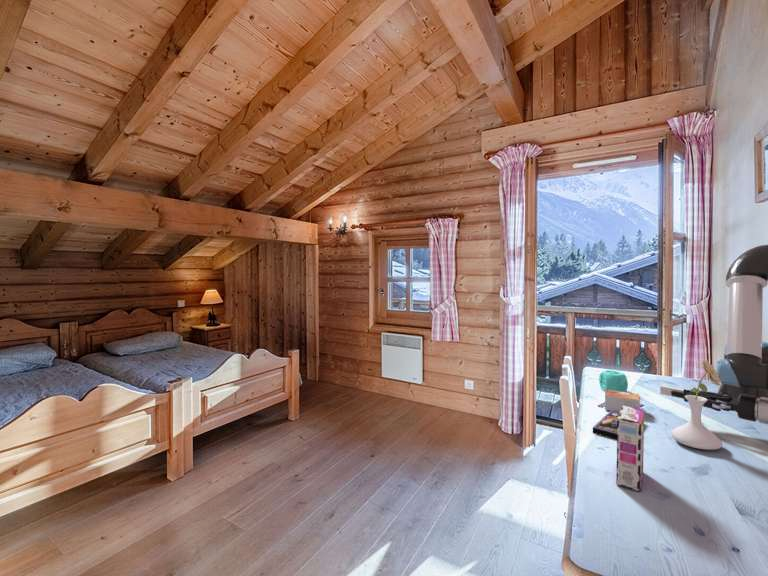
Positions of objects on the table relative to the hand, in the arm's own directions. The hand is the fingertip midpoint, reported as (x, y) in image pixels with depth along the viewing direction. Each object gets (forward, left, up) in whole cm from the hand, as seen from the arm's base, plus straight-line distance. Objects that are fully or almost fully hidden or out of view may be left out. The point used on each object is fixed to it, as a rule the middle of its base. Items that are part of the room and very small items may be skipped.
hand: (661, 389), depth 124 cm
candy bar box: (+51, +9, -10) cm, 52 cm away
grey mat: (0, -13, -9) cm, 16 cm away
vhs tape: (+21, -5, -10) cm, 24 cm away
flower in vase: (+16, +14, -10) cm, 23 cm away
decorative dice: (-16, -22, -10) cm, 29 cm away
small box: (+2, -6, -6) cm, 9 cm away
